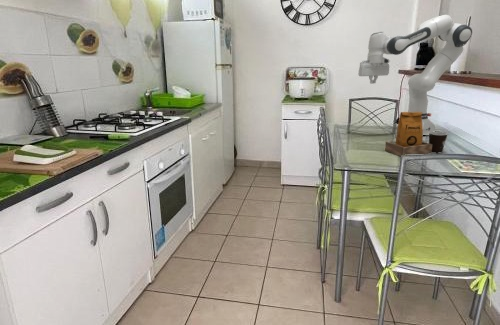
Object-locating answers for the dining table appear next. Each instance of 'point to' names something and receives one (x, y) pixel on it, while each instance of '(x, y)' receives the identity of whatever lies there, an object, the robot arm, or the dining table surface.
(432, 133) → the coffee mug
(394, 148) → the frame
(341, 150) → the dining table surface
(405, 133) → the coffee package
